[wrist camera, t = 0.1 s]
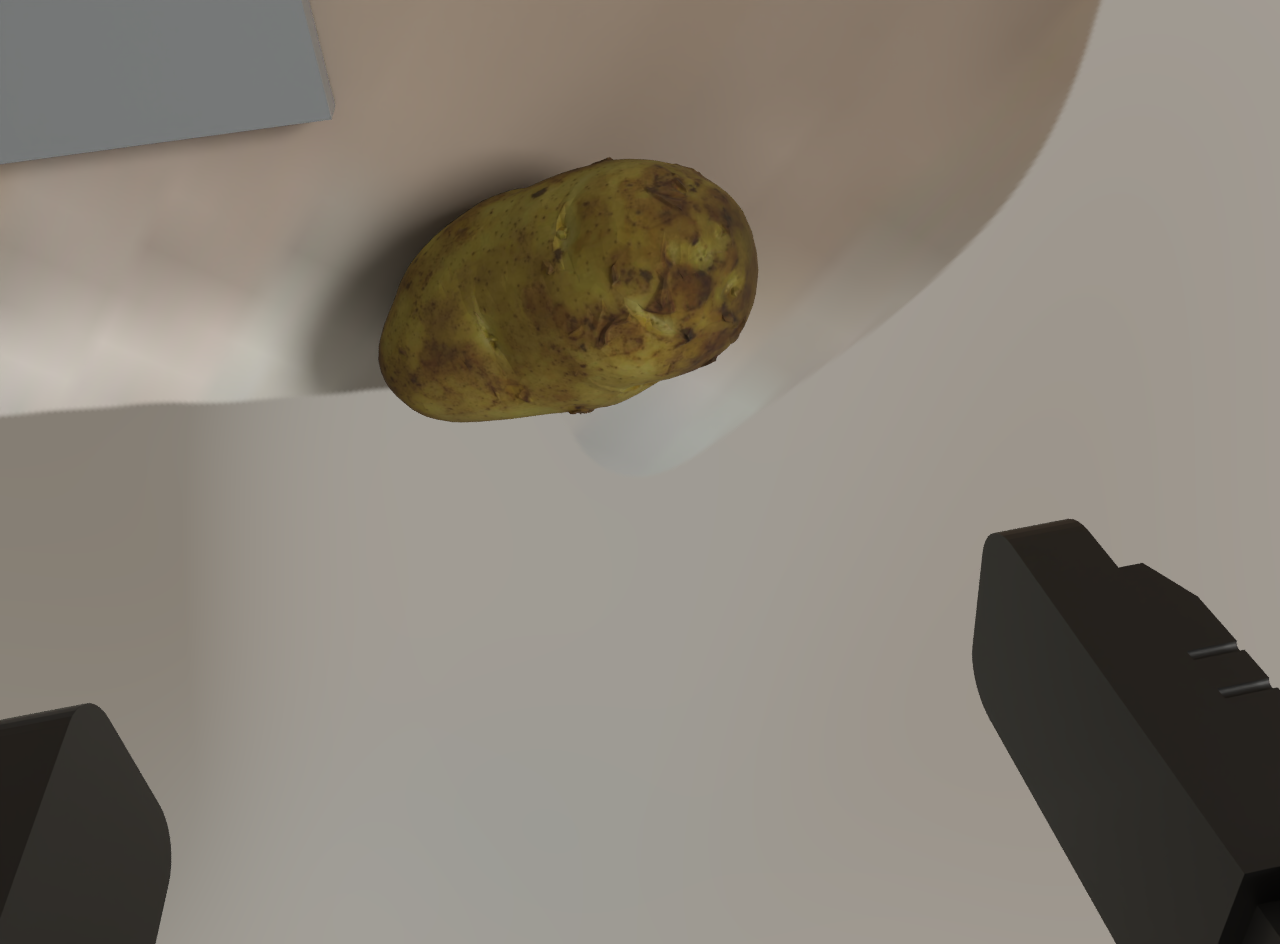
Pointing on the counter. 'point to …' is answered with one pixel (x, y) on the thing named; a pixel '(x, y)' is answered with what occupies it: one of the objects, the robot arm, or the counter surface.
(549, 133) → the counter surface
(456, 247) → the potato
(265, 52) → the slate board
